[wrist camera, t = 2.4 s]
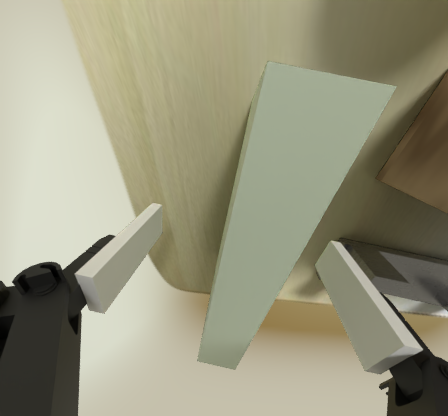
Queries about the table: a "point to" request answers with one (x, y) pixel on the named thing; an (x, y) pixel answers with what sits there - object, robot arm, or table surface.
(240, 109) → the table surface
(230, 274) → the door panel
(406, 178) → the cabinet
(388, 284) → the clip rail
